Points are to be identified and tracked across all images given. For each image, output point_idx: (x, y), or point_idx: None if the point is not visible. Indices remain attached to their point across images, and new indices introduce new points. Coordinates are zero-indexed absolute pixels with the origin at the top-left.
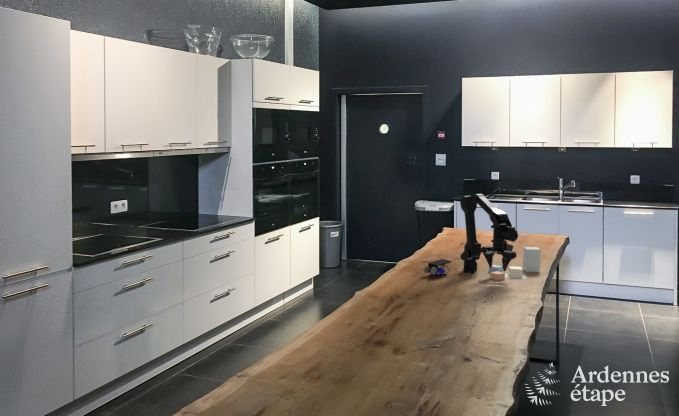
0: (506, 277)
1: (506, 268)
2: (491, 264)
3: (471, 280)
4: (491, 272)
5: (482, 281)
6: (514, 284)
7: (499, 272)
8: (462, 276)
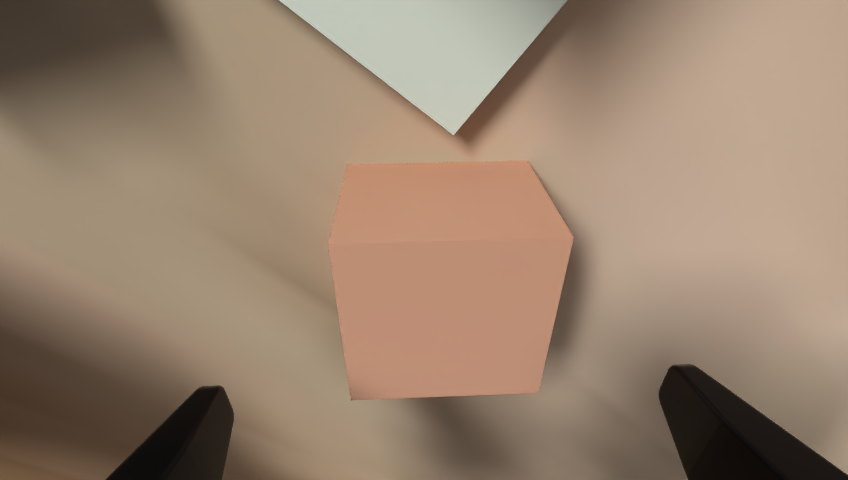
0: (466, 35)
1: (760, 419)
2: (194, 469)
3: (298, 454)
4: (376, 394)
5: (388, 405)
6: (776, 197)
7: (457, 290)
8: (83, 437)
